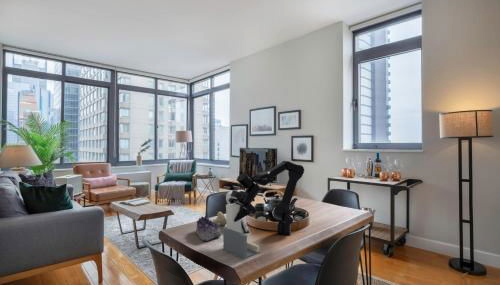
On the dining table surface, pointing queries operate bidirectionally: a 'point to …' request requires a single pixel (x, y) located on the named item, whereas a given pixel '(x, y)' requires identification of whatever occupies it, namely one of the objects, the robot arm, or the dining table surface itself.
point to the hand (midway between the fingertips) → (231, 219)
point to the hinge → (243, 227)
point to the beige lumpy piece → (220, 219)
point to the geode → (207, 229)
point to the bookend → (238, 244)
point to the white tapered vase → (233, 217)
